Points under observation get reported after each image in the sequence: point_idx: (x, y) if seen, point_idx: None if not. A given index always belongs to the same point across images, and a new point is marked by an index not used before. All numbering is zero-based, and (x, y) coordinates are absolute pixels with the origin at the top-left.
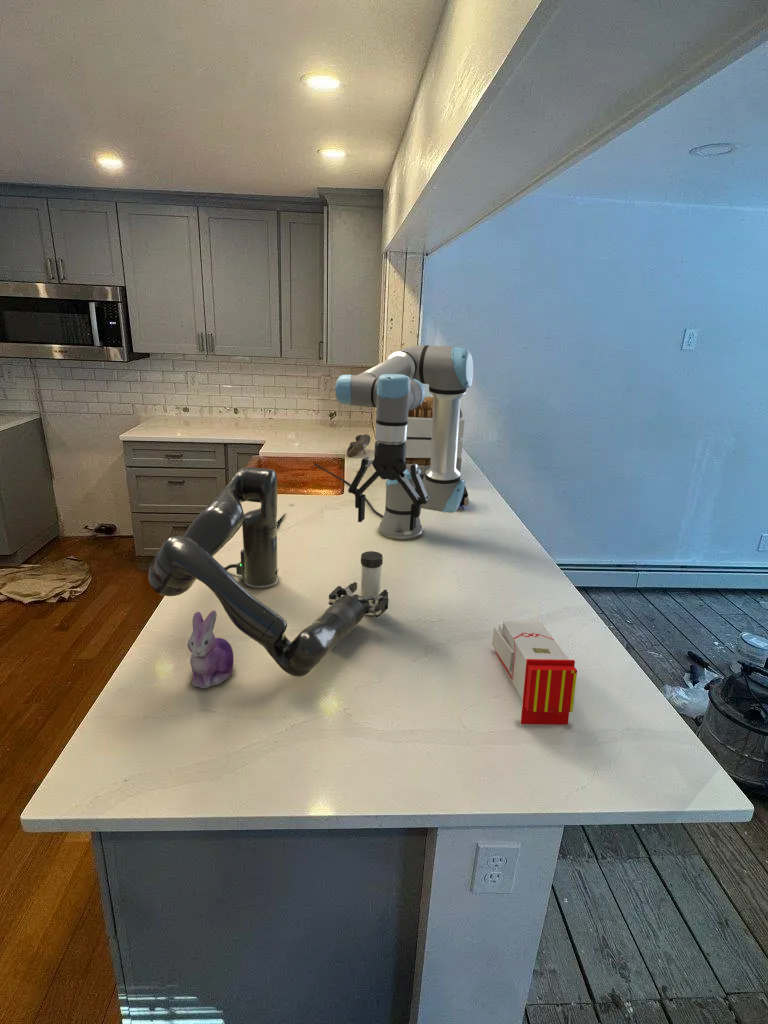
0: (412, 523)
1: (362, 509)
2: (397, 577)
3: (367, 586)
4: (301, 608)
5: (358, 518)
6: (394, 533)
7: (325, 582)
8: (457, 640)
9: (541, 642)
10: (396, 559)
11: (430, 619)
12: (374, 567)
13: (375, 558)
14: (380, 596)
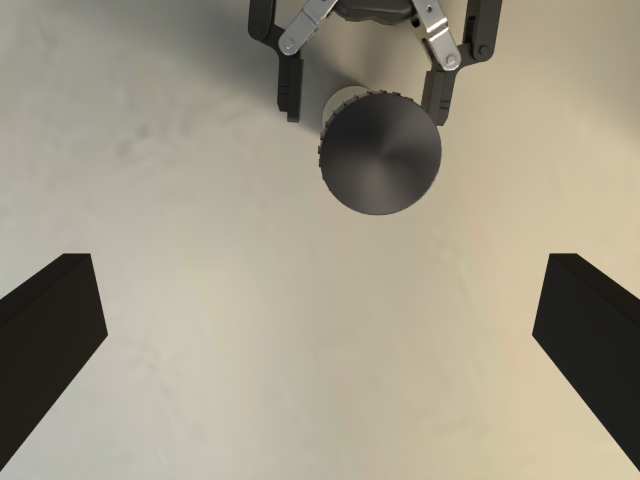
0: (23, 284)
1: (610, 349)
2: (339, 349)
3: (365, 90)
4: (586, 35)
5: (591, 268)
6: None
7: (549, 238)
8: (25, 49)
9: None
10: (376, 443)
11: (154, 144)
12: (343, 101)
13: (349, 127)
14: (288, 39)
